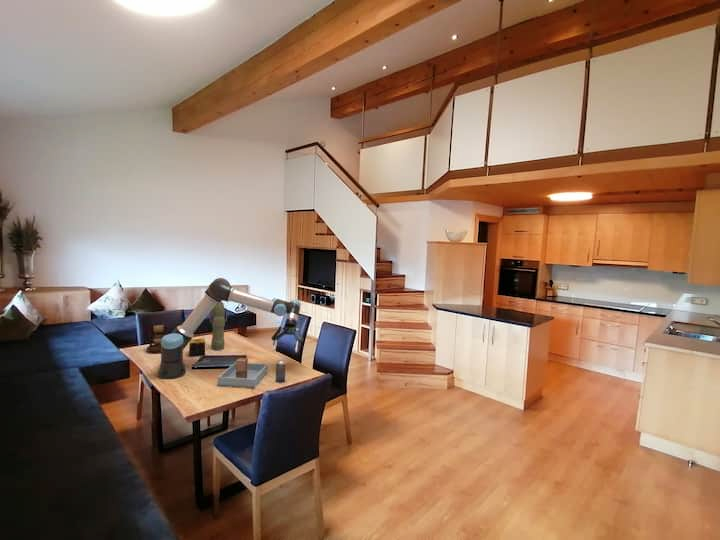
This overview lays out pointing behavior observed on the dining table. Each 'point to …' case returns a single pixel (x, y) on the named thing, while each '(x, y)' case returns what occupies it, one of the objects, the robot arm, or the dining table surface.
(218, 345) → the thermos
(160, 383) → the dining table surface
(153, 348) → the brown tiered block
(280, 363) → the pepper mill
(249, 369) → the tray
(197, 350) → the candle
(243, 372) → the walnut block
